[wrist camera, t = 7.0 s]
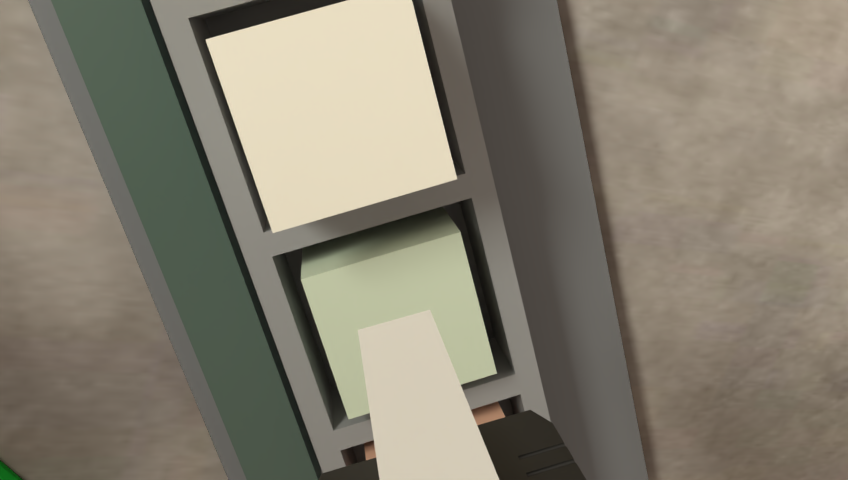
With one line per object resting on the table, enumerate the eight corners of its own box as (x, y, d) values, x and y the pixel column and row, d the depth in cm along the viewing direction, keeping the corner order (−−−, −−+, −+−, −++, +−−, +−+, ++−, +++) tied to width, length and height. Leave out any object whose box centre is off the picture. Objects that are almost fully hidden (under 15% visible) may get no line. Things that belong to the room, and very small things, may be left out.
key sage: (344, 369, 26) (348, 419, 23) (302, 245, 25) (300, 279, 21) (474, 329, 27) (497, 373, 23) (441, 204, 25) (460, 232, 22)
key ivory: (279, 201, 22) (272, 233, 19) (223, 36, 20) (205, 39, 17) (435, 155, 22) (457, 179, 19) (392, -11, 21) (407, -17, 17)
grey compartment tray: (285, 594, 30) (280, 676, 27) (-70, -266, 20) (-158, -331, 17) (641, 480, 31) (685, 542, 28) (469, -398, 21) (503, -489, 17)
